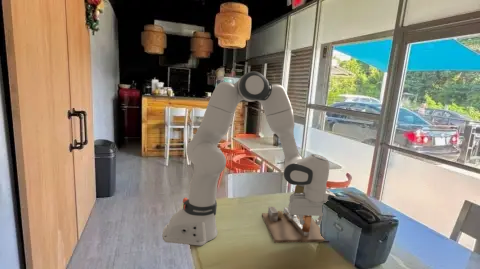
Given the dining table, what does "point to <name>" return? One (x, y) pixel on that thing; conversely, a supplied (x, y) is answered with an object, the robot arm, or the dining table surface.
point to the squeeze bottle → (299, 189)
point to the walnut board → (289, 229)
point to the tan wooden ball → (280, 214)
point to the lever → (302, 228)
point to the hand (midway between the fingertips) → (309, 224)
